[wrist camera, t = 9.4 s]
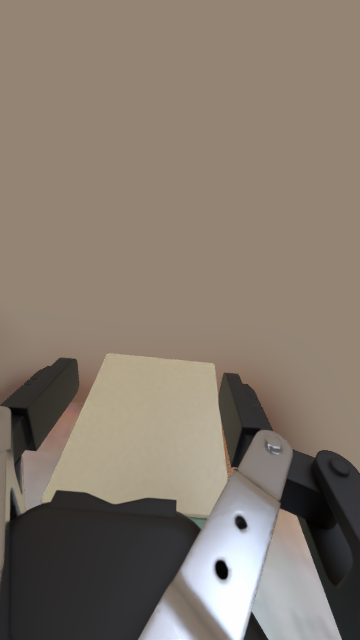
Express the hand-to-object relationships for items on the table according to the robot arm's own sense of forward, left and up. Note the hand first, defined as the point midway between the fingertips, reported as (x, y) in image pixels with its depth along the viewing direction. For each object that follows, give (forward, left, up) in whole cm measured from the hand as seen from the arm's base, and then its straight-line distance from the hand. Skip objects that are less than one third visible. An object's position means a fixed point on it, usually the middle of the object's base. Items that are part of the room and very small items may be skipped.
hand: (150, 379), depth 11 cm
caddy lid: (0, +5, -8) cm, 10 cm away
